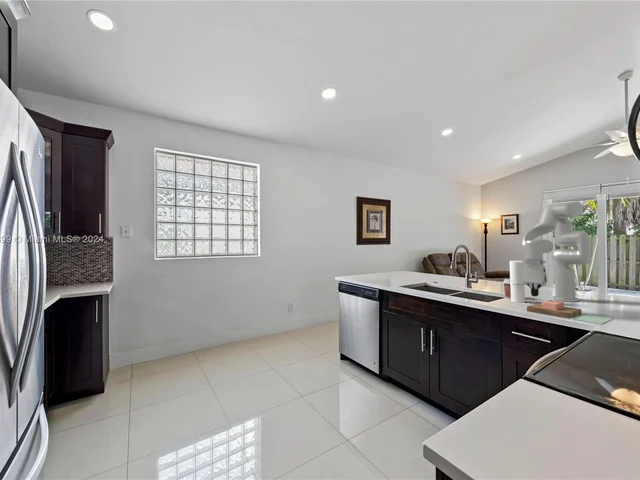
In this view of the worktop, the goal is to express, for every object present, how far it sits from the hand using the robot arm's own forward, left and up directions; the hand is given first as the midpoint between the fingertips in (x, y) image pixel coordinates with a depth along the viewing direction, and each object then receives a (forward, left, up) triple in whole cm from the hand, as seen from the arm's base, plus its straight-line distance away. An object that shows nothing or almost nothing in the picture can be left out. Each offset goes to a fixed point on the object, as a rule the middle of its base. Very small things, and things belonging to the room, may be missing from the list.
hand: (534, 295), depth 154 cm
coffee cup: (-23, -24, -8) cm, 34 cm away
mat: (-1, +23, -8) cm, 24 cm away
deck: (-1, +8, -8) cm, 11 cm away
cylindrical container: (-15, -16, -8) cm, 23 cm away
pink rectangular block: (-1, +8, -4) cm, 9 cm away
